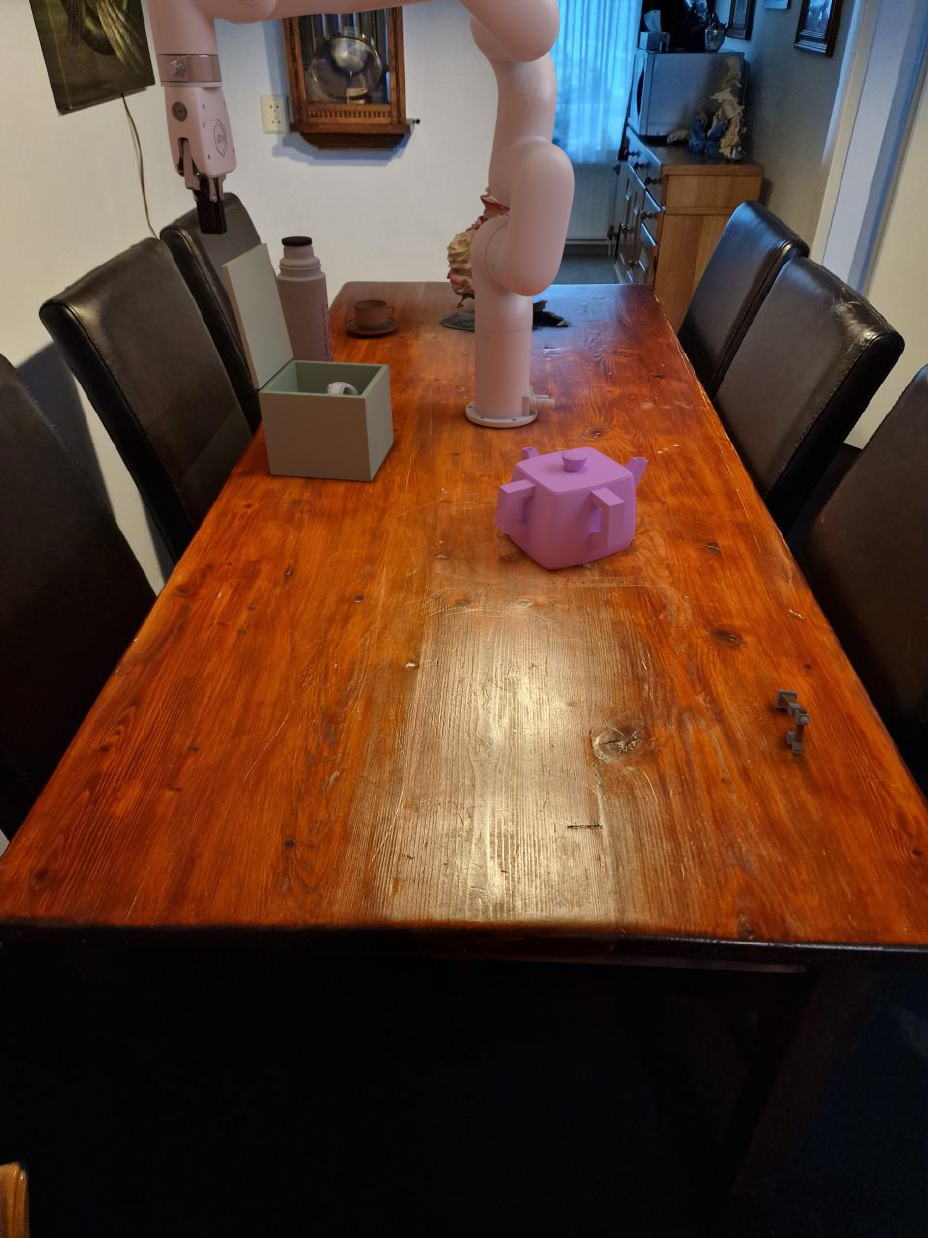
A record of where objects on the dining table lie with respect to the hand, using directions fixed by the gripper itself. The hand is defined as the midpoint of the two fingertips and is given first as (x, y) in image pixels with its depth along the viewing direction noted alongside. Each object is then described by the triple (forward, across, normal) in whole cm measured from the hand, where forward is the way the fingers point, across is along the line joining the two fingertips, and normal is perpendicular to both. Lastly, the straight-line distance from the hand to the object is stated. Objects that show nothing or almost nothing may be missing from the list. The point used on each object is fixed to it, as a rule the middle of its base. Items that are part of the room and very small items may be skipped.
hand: (214, 232), depth 112 cm
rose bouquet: (+32, +80, -31) cm, 92 cm away
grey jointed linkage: (+32, -54, -75) cm, 98 cm away
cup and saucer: (+32, +68, -4) cm, 76 cm away
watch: (+32, 0, -16) cm, 35 cm away
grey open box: (+32, 0, -14) cm, 35 cm away
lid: (+11, 0, -6) cm, 12 cm away
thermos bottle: (+32, +22, -4) cm, 40 cm away
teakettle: (+32, -20, -52) cm, 64 cm away
